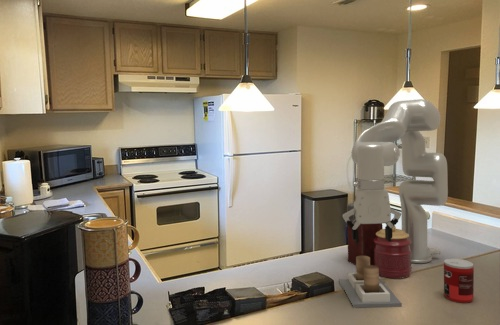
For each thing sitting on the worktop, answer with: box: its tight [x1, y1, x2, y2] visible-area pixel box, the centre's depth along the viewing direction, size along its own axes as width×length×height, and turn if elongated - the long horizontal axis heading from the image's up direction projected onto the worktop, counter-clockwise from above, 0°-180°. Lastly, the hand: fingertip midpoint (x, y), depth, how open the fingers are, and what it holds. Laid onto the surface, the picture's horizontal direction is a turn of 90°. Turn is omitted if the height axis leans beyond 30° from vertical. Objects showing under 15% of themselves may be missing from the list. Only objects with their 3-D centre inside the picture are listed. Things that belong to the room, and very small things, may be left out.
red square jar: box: [346, 202, 384, 266], centre depth 153 cm, size 9×11×28 cm
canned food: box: [443, 258, 475, 304], centre depth 118 cm, size 8×8×11 cm
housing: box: [338, 272, 402, 308], centre depth 124 cm, size 14×20×4 cm
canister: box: [373, 225, 413, 279], centre depth 141 cm, size 13×13×18 cm
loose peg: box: [364, 265, 380, 293], centre depth 119 cm, size 4×4×9 cm
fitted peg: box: [355, 256, 370, 281], centre depth 129 cm, size 4×4×9 cm
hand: (372, 241), depth 118 cm, fingers open, 9 cm apart
